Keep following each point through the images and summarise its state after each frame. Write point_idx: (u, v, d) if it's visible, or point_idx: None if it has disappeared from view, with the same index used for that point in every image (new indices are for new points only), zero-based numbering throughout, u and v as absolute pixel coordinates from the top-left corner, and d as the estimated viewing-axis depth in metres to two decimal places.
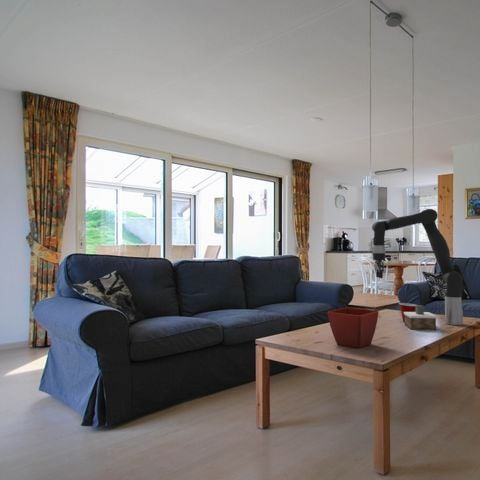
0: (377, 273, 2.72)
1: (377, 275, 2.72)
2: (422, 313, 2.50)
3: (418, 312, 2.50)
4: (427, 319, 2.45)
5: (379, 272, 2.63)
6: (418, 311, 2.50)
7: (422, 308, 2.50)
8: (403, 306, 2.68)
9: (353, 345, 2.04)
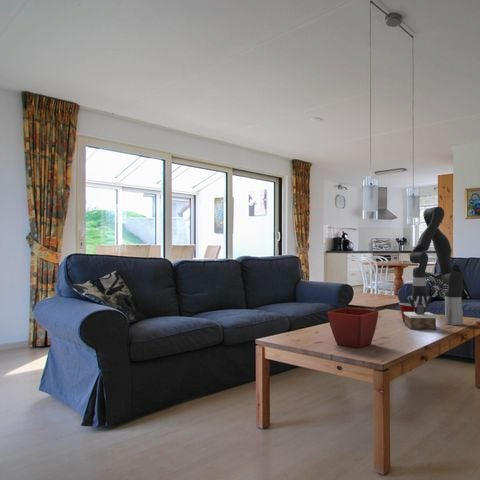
0: None
1: None
2: (422, 313, 2.50)
3: (418, 312, 2.50)
4: (427, 319, 2.45)
5: (424, 307, 2.51)
6: (418, 311, 2.50)
7: (422, 308, 2.50)
8: (403, 306, 2.68)
9: (353, 345, 2.04)
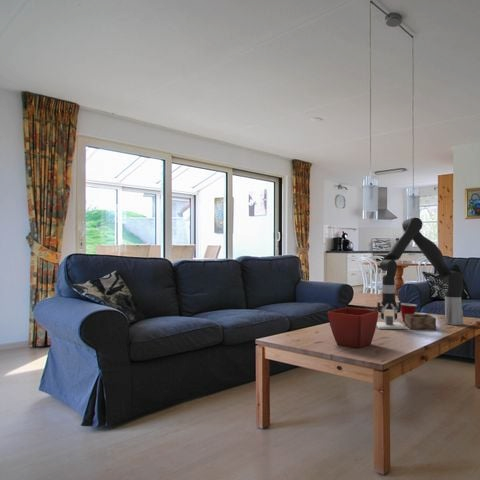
0: None
1: None
2: (391, 323, 2.52)
3: (387, 322, 2.53)
4: (427, 319, 2.45)
5: (396, 313, 2.53)
6: (387, 321, 2.53)
7: (391, 319, 2.52)
8: (403, 306, 2.68)
9: (353, 345, 2.04)
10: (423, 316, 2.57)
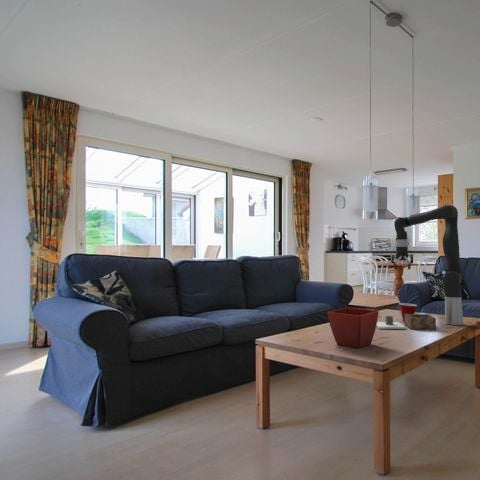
0: None
1: None
2: (391, 323, 2.52)
3: (387, 322, 2.53)
4: (427, 319, 2.45)
5: (409, 264, 2.86)
6: (387, 321, 2.53)
7: (391, 318, 2.52)
8: (403, 306, 2.68)
9: (353, 345, 2.04)
10: (423, 316, 2.57)
